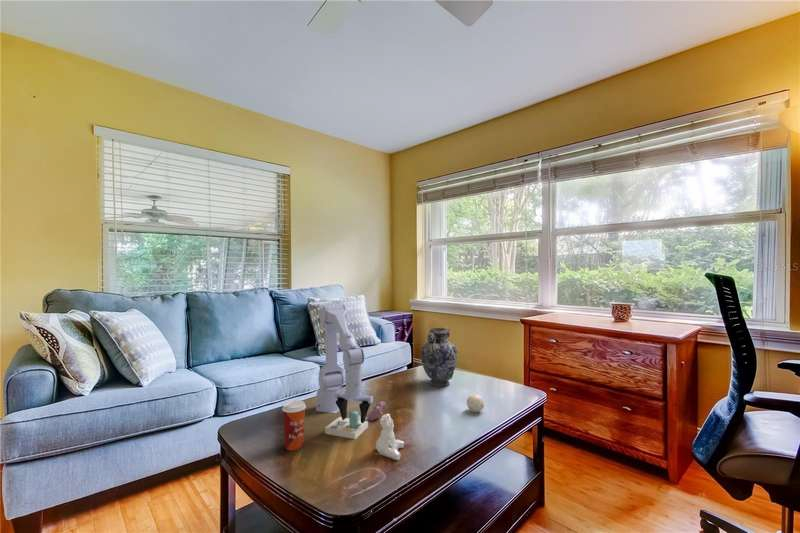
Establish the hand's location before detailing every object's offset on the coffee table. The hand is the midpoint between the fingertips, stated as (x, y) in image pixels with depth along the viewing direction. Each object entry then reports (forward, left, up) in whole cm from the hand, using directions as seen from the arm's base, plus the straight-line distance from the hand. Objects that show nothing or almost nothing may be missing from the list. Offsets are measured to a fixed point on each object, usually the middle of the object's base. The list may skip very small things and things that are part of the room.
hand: (353, 420), depth 126 cm
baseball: (+38, +33, -5) cm, 51 cm away
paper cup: (-14, -16, -5) cm, 21 cm away
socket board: (-3, 0, -4) cm, 5 cm away
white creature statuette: (+17, -9, -5) cm, 20 cm away
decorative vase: (+15, +63, -5) cm, 65 cm away
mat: (-4, +9, -4) cm, 11 cm away
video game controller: (+2, +15, -5) cm, 16 cm away
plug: (0, 0, -4) cm, 4 cm away
